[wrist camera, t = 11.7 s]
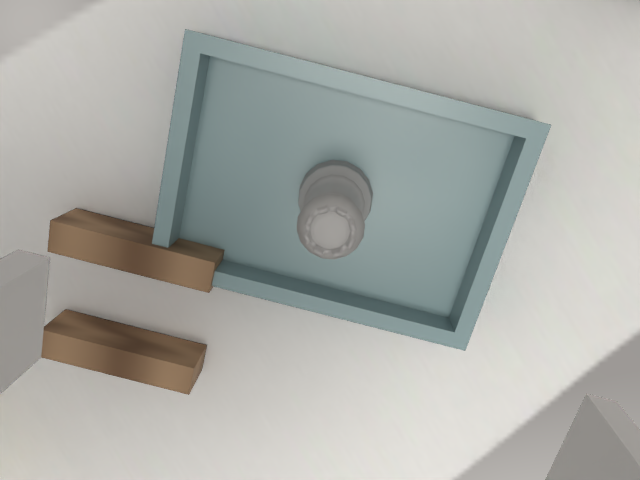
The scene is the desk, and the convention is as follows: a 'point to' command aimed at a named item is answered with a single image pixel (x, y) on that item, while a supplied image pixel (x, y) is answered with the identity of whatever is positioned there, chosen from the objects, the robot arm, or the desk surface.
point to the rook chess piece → (333, 209)
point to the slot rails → (119, 339)
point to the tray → (361, 151)
